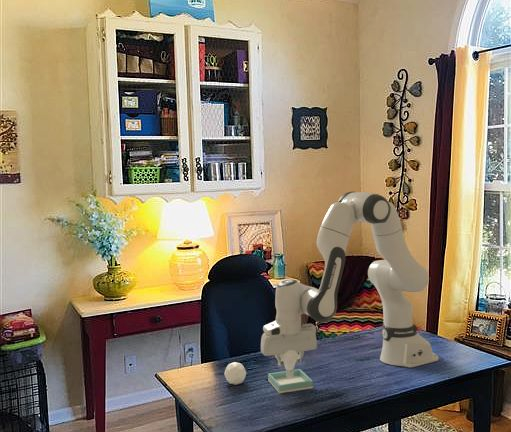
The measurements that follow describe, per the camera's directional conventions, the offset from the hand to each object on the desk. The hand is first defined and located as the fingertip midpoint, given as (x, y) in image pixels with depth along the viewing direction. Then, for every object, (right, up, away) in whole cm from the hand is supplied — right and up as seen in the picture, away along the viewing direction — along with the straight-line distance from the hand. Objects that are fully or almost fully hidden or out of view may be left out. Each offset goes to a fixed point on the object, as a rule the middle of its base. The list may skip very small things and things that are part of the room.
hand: (289, 364), depth 204 cm
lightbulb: (0, -5, 0) cm, 5 cm away
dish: (0, -7, +1) cm, 7 cm away
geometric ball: (-19, -8, +3) cm, 21 cm away
